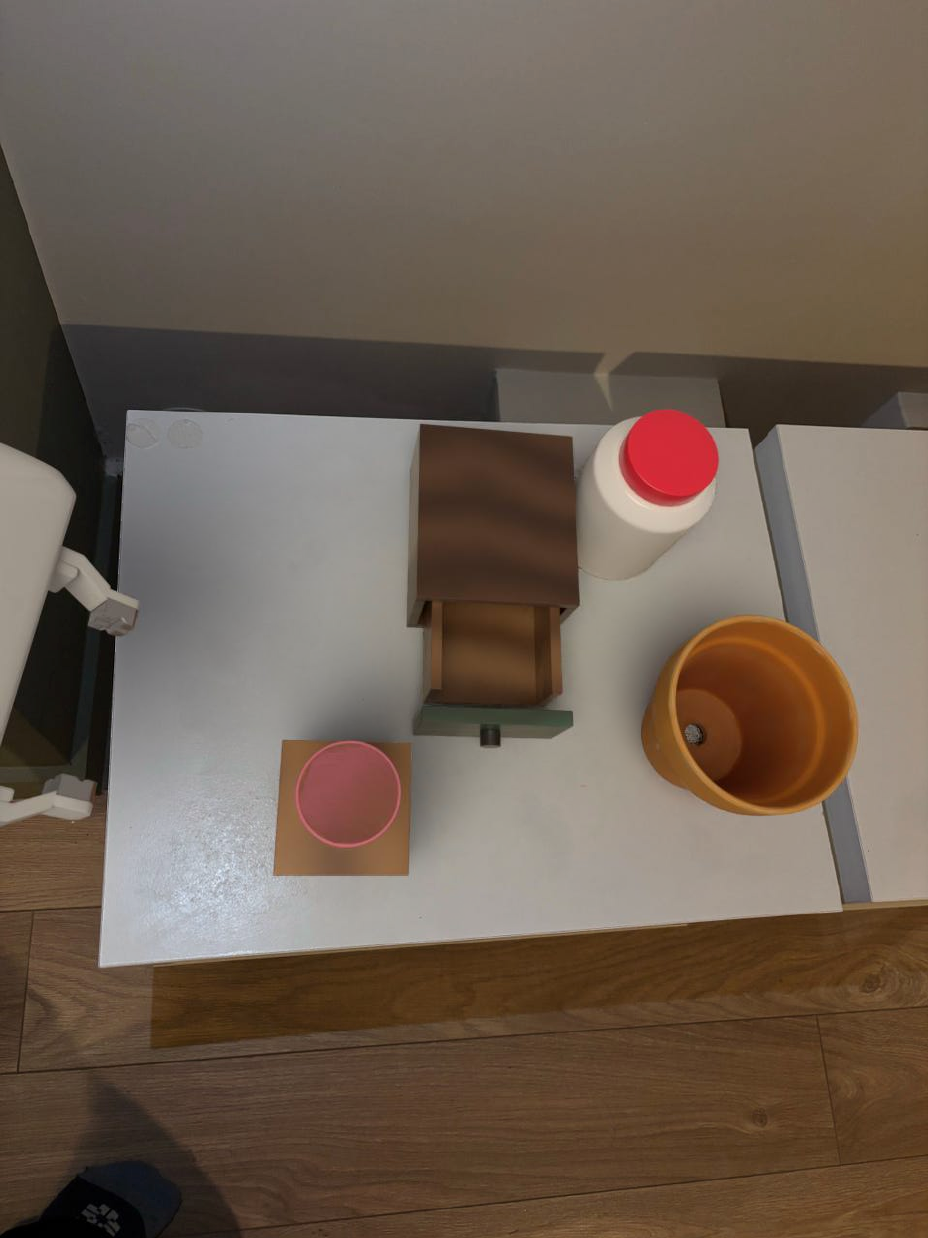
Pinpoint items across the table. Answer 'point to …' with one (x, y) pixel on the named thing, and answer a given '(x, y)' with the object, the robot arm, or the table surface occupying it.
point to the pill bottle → (643, 492)
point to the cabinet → (492, 520)
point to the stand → (313, 858)
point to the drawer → (491, 672)
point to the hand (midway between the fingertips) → (112, 706)
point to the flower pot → (753, 718)
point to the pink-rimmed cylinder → (348, 794)
